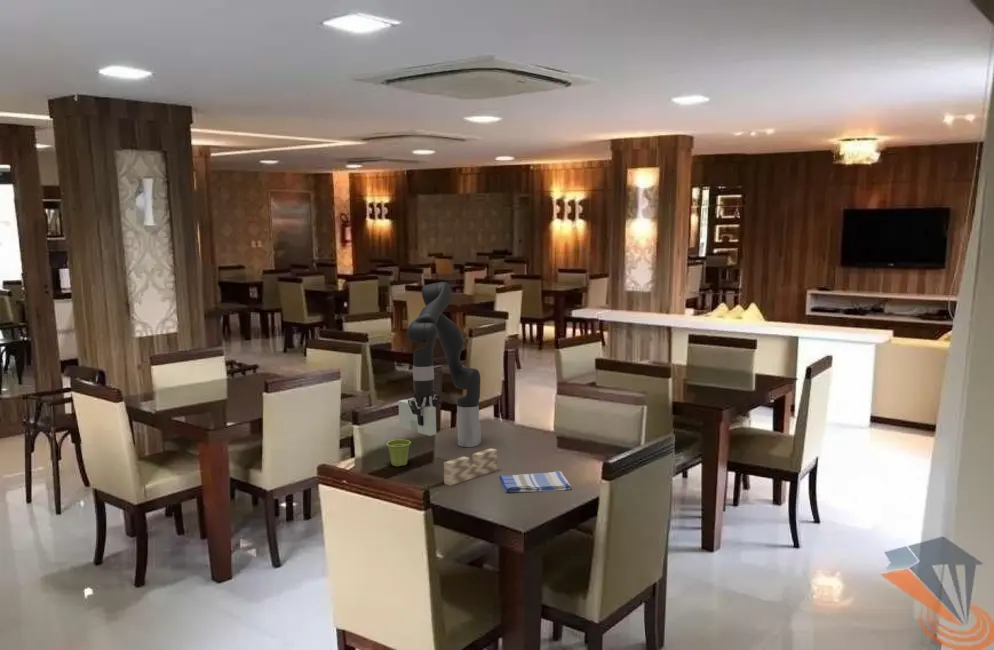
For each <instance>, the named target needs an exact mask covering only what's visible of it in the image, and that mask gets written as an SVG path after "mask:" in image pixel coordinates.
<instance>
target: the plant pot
mask: <svg viewBox="0 0 994 650" xmlns="http://www.w3.org/2000/svg"><path fill="white" fill-rule="evenodd" d="M411 443H412V441H410V440H409V439H408V440H407V439H393V440H389V441H387V442H386V446H387V449H388V451H389V457H390V463H391V465H392V466H394V467H401V466H407V464H408V460H409V459H408V458H409V450H410V447H411Z"/></svg>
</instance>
